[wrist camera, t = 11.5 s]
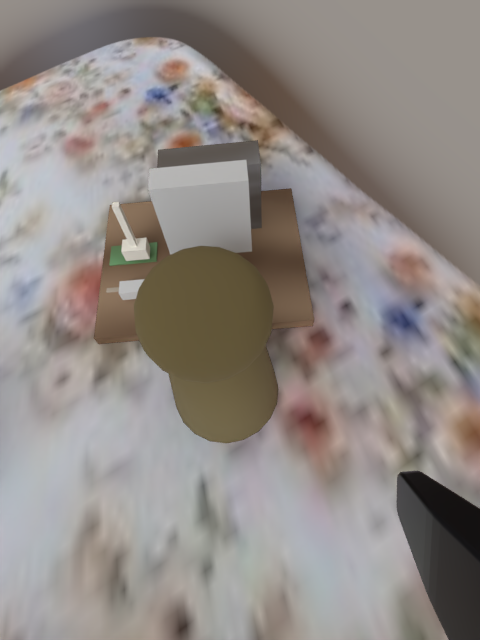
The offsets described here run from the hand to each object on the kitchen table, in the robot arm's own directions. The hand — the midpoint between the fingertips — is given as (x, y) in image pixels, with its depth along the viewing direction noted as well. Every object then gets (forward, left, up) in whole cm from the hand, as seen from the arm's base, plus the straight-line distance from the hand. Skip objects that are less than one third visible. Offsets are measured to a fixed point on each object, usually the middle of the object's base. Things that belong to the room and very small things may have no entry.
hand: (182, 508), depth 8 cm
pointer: (+16, +5, -12) cm, 21 cm away
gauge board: (+16, +1, -13) cm, 21 cm away
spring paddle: (+13, +2, -12) cm, 18 cm away
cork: (+7, 0, -13) cm, 15 cm away
